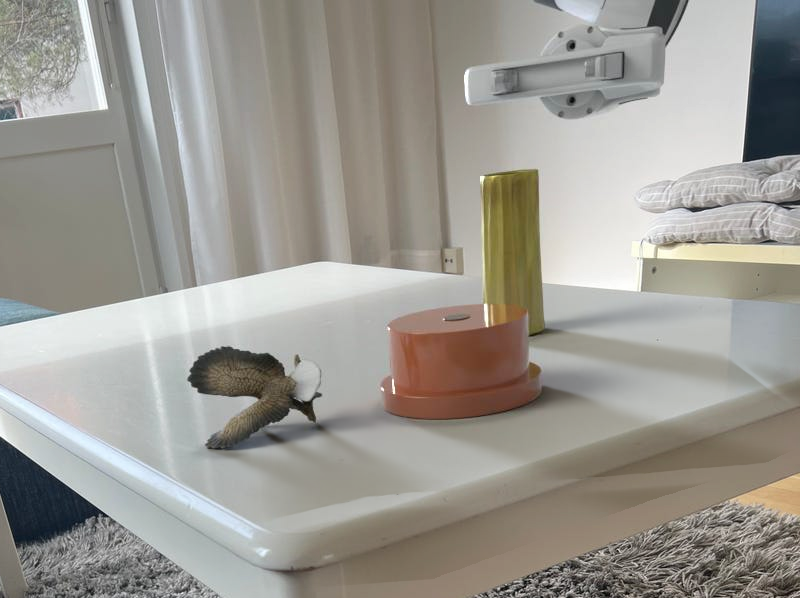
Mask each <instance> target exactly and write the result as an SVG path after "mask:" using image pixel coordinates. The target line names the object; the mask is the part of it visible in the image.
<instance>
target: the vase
mask: <svg viewBox="0 0 800 598" xmlns="http://www.w3.org/2000/svg"><path fill="white" fill-rule="evenodd" d="M479 184H480V185H479V186H480V205H481V206H480V210H481V211H480V212H481V265H482V267H481V268H482V304H506V305H515V306H520V307H523V308H525V309H527V310H528V328H529V336H533V335H537V334H539V333H541V332H543V331H544V330H545V328H546V322H545V321H546V320H545V313H544V312H545V311H544V294H543V293H544V292H543V276H542V273H543V272H542V255H541V229H540V228H541V226H540V174H539V169H537V168H527V169H517V170H508V171H501V172H493V173H488V174H483V175H481V176H480V178H479Z"/></svg>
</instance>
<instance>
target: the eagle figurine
mask: <svg viewBox="0 0 800 598" xmlns="http://www.w3.org/2000/svg"><path fill="white" fill-rule="evenodd" d="M293 358H294V359H293V360H294V361H293V365H294V369H293V370H292V371H291V373H290V374H289V375H286V372H285V367H284V365H283V362H280V361H279V359H277V358H276V357H275V356H274V355H272V354H270V353H269V352H263V353H262V352H260V353H257V352H252V351H250V350H240V348H233V347H232V346H230V345H227V346H223V345H222V346H220V348H219V347H216V348H214V349H210V350H209V351H206V352H204V353H203V354H200V355H199V356H197V359H196V360H194V361H193V362H192V367H190V368H189V373H190V374H189V375H188V377H187V379H186V381H187V382H189V383H190V386H191V387H192V388H195V389H197V390H196V392H197V393H198V394H201V395H206V396H207V395H208V396H220V397H228V398H238V397H251V398H255V399H257V401H256V402H254V403H252V404H251V405H249V406H248V407H246V408H244V409H242V410H241V411H239V412H237V413H236V414H234V415H233V416H231V417H230V419H229V420H228V421H227V422H226V423H225V425H224V426H223V427H222V428H221V429H220V430H218V431H216V432H214V433H212V434H211V435H210V438H208V439H207V440H206V441H207V442H206V443H204V446H205V447H206V448H207V449H211V448H212V449H218V448H221V449H225V448H231V447H234V446H236V445H238V444H241V443H243V442H244V441H245V440H248V439H250V437H251V436H252V435H253V434H255V433H258V432H259V431H260V430H261V429H262V428H265V427H266V426H269V425H270V424H275V423H280V422H281V421H283V420H284V418H285V417H288V416H289V413H290V412H291V410H296V411H298V412H300V413H302V414H303V416H305V417H307V420H308V421H310V422H313V423H316V422H317V416H316V414H315V410H314V400H316V399H319V398H322V397H323V393H322V392H318V390H319V388H320V387H321V385H322V370H321V367H320V366H319V365H318V364H317V363H316V362H315V361H312V360H311V359H308V358H304V359H302V360H301V358H300V356H299V354H295V355H294V357H293Z"/></svg>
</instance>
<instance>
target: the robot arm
mask: <svg viewBox="0 0 800 598" xmlns="http://www.w3.org/2000/svg"><path fill="white" fill-rule="evenodd" d="M533 2H534V3H536V4H538V5H542V6H544V7H548V8H551V9H554V10H557V11H559V12H566V13H568V14H570V15H572V16H574V17H576V18H579V19H581V20H583V21H585V22H587V23H590V24H575V25H571V26H568V27H565V28H564V29H562V30H560V31H558V32H557V33H556V34H555V35H553V37H551V39H549V41H548V42H547V44H545V46H544V48H543V49H542V50H541V53H540V55H539V56H533V57H526V58H519V59H514V60H507V61H500V62H494V63H493V62H492V63H487V64H480V65H474V66H470V67H468V68H467V69H466V70H465V72H464V93H465V101H466V104H467V105H468V106H471V107H475V106H482V105H483V106H484V105H490V104H491V105H492V104H499V103H506V102H514V101H520V100H521V101H522V100H529V99H538V98H539V100H540V102H541V103H542V106H544V108H545V109H546V110H547V111H548V112H549V113H551V114H552V115H553V116H556V117H558V118H559V119H564V120H571V121H572V120H579V119H584V118H589V117H593V116H599V115H603V114H607V113H609V112H612V111H615V110H617V108H619V107H620V106H622V105H625V104H627V103H631V102H636V101H640V100H647V99H648V98H656V97H658V96H659V95H660V92H661V87H663V85H664V82H665V69H666V67H665V66H666V48H667V47H668V45H669V43H670V42H671V40H672V38H673V37H674V35H675V33H676V31H677V29H678V27H679V25H680V23H681V21H682V19H683V17H684V14H685V12H686V9H687V7H688V4H689V2H690V0H533Z"/></svg>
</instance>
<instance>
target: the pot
mask: <svg viewBox="0 0 800 598" xmlns="http://www.w3.org/2000/svg"><path fill="white" fill-rule="evenodd" d="M386 334H387V343H388V345H387V346H388V355H389V356H388V357H389V368H390V374H389V375H388V376H386V377H385V378H384V379H382V381H380V384H379V385H380V396H381V398H380V399H381V406H382V408H383V409H384V410H385V411H386V412H388V413H390V414H393V415H395V416H399V417H405V418H409V419H410V418H411V419H422V420H423V419H424V420H448V419H449V420H452V419H463V418H474V417H481V416H486V415H488V416H489V415H492V414H497V413H501V412H507V411H510V410H513V409H517V408H519V407H523V406H524V405H527V404H529V403H531V402H533V401H535V400H536V399H538V398H539V397H540V396H541V394H542V391H543V385H542V384H543V383H542V381H543V379H542V368H541V367H540V366H539V365H538V364H537V363H534V362H532V361H530V335H529V328H528V310H527V309H525V308H523V307H520V306H515V305H506V304H483V303H478V304H477V303H475V304H462V305H453V306H444V307H438V308H437V307H436V308H432V309H425V310H421V311H417V312H413V313H409V314H405V315H402V316H399V317H397V318H394V319H392V320H391V321H389V322H387V325H386Z"/></svg>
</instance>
